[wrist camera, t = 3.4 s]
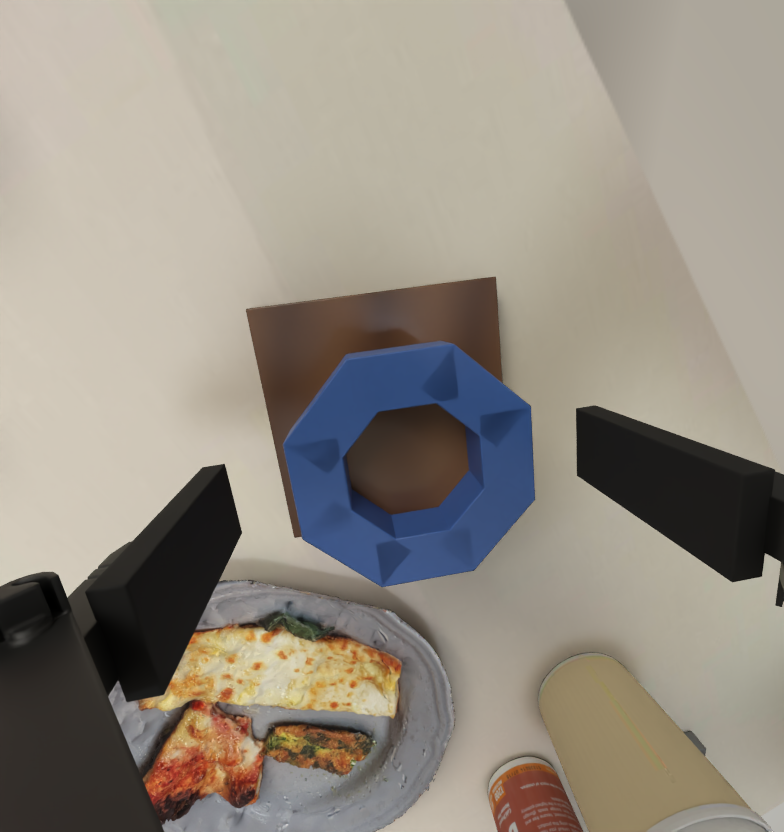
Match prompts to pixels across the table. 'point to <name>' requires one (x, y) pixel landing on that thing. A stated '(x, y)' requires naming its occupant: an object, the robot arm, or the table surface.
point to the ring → (423, 529)
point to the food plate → (291, 717)
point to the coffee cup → (633, 756)
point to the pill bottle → (530, 798)
